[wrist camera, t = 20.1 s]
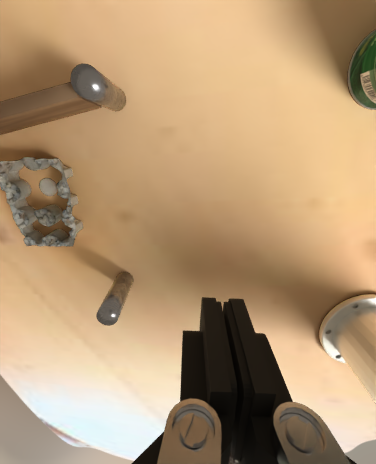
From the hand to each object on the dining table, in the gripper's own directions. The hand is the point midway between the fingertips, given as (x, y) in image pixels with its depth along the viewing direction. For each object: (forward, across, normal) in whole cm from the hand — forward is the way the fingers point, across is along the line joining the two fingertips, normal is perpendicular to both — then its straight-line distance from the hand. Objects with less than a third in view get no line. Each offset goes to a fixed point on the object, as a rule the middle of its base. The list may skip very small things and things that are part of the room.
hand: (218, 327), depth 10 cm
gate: (+22, +21, -8) cm, 31 cm away
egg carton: (+23, +19, 0) cm, 29 cm away
